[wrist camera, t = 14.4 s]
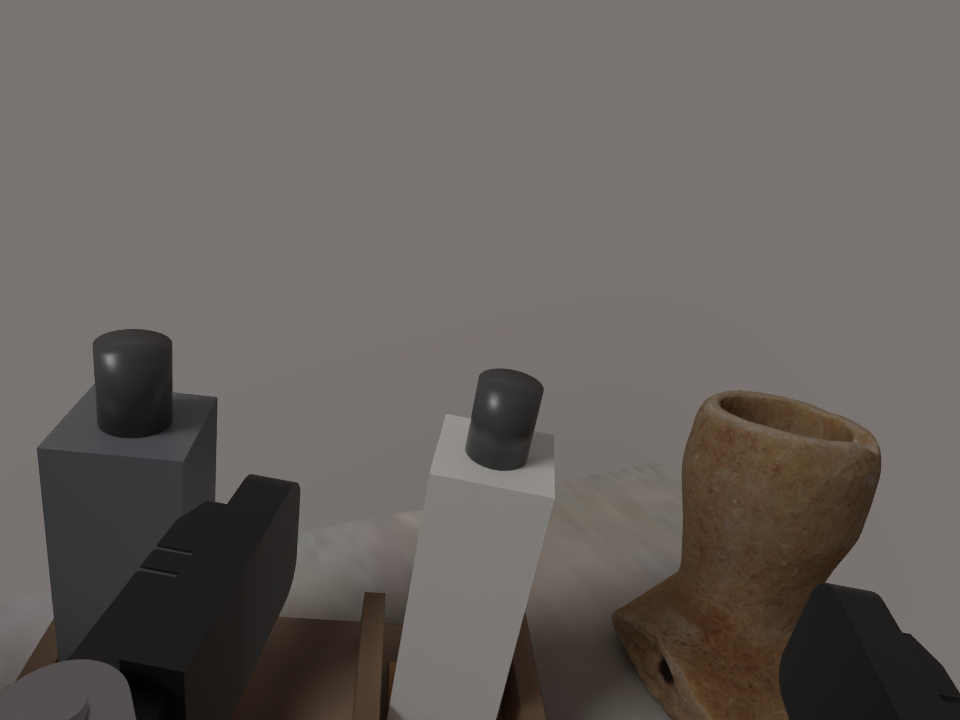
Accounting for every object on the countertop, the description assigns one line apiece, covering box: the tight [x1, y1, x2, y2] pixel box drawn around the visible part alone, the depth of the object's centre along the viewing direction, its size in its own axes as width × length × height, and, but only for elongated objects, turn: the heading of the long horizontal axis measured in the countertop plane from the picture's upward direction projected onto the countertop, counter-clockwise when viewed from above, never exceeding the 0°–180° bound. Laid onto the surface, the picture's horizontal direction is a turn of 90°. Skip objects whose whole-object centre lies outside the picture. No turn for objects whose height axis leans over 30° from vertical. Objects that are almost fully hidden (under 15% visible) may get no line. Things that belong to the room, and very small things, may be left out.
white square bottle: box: [387, 369, 555, 720], centre depth 29 cm, size 4×4×17 cm
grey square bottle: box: [37, 329, 217, 662], centre depth 27 cm, size 4×4×17 cm
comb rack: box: [15, 592, 546, 720], centre depth 31 cm, size 22×10×4 cm, turn 95°
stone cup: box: [612, 391, 881, 720], centre depth 38 cm, size 15×12×15 cm
